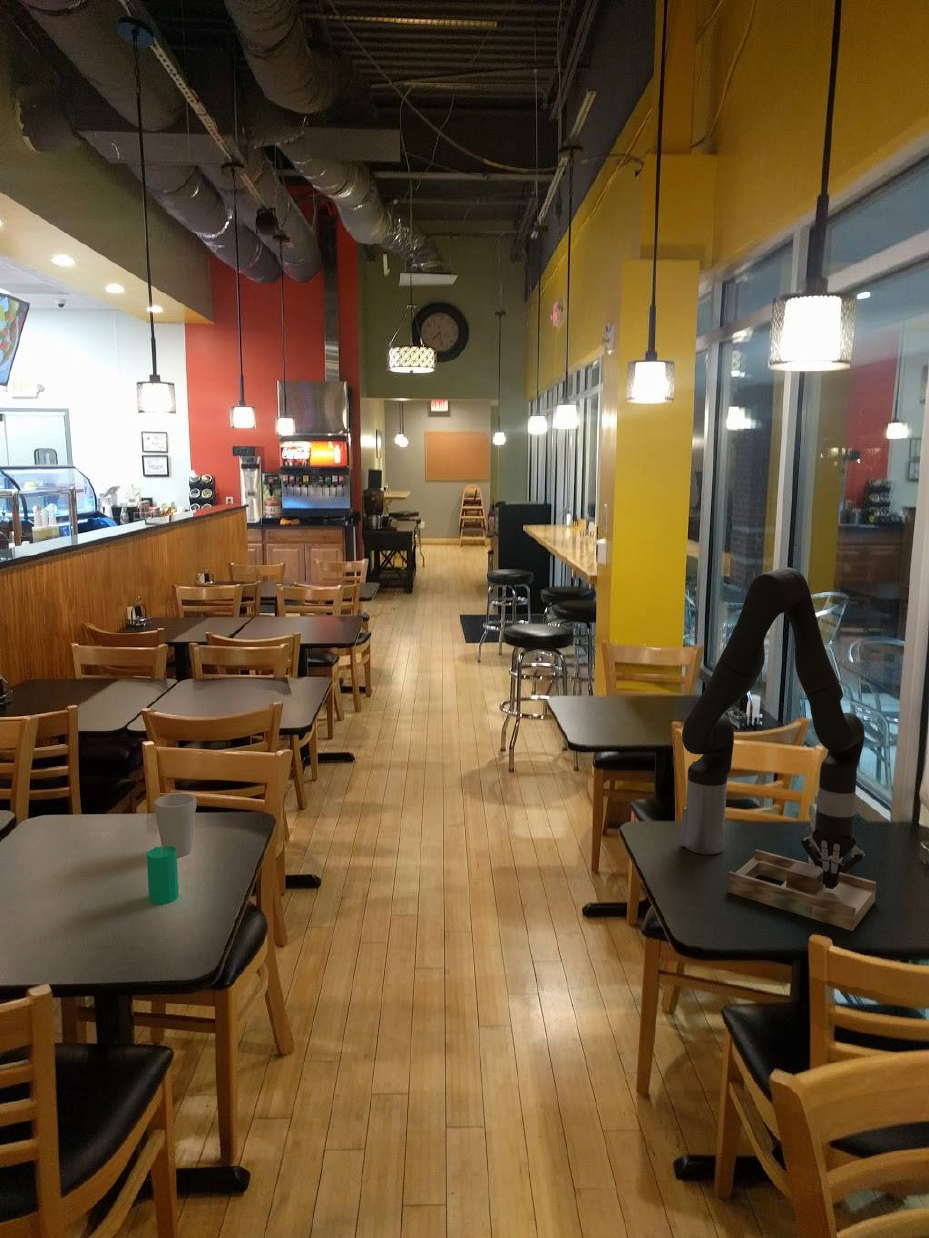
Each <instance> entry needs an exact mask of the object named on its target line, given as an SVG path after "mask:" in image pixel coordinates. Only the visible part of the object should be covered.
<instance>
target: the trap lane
mask: <svg viewBox="0 0 929 1238" xmlns="http://www.w3.org/2000/svg"><path fill="white" fill-rule="evenodd" d="M753 853H754V855H753V857H752V858H751V859H750V860H749V861H747V862H746V863H745V864H744V865H743V866H742V867H740V868H739V869H738V870H736V872H735V871H731V870H729V871H728V877H727V889H726V890H727V891H726V893H729V894H732V895H735V896H739V897H742V898H745V899H749V900H752V901H754V902H758V903H762V904H765V905H768V906H771V907H774V908H777V909H780V910H783V911H787V912H789V913H794V914H796V915H800V916H802V917H806V918H808V919H813V920H816V921H820V922H823V923H825V924H829V925H830V926H831V925H833V926H835V927H839V928H842V929H845V930H847V931H851V932H853V931H854V930H855V929H856V927H857V926H858V924H859V923H860V922H861V920H863V918H864V916H865V915H866V914H867V913H868V911H869V910H870V909H871V907H872V906H873V905H874V903H875V902H876V901H875V900H876V892H877V891H876V890H877V881H874V880H871V879H866V878H863V877H860V876H855V875H852V874H848V873H842V872H840V873H839V882H838V885H837V886H836V887H834V889H833V890H832V889H828V888H825V885H823V886H822V887H821V888H820V889H819V890H818V891H817V892H816V893H815V894H812V893H808V892H805V891H802V890H798V889H795V888H791V887H788V886H786V879H787V870H788V869H789V868H790V867H791V866H792V865H793V864H794V863H795V862H796V861H798V862H801V863H805V864H809V862H804V861H801V860H797V859H793V858H790V857H787V856H784V855H780V854H776V853H775V854H774V853H772V852H768V851H764V850H761V849H755V850H754V852H753ZM809 865H812V864H809ZM812 866H816V865H812ZM816 867H819V866H816ZM819 868H821V867H819ZM758 876H762V877H767V878H768V879H773V880H776V881H780V882H783V883H782V884H781V885H778V884H776V883H772V882H769V881H765V880H761V879H758V878H757V877H758Z"/></svg>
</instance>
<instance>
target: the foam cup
mask: <svg viewBox="0 0 929 1238" xmlns="http://www.w3.org/2000/svg"><path fill="white" fill-rule="evenodd" d="M196 809H197V798H196V796H195V795H194V794H191V793H187V792H186V793H185V792H184V793H183V792H175V793H169V794H165V795H162V796H160V797H158V798H155V800H154V801H153V810H154V811H153V812H154V814H155V816H156V817H155V818H156V823H157V828H158V832H159V838H160V842H161V843H160V845H161V844H162V847H167V846H173V847H175V848H176V850H177V859H178V858H183V857H185V856H188V855H190V854H191V852H192V848H193V839H194V838H193V837H194V830H195V829H194V827H195V821H196V820H195V818H196Z"/></svg>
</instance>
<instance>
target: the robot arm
mask: <svg viewBox="0 0 929 1238" xmlns="http://www.w3.org/2000/svg"><path fill="white" fill-rule="evenodd" d="M745 595H746V596H745V598H744V601H743V605H742V608H741V610H740V614H739V617H738V619H737V622H736V624H735V626H734V628H733V630H732V632H731V634H730V637H729V639H728V641H727V643H726V645H725V647H724V648H723V651H722V652H721V655H720V656H719V658H718V661H717V663H716V665H715V668H714V670H713V671H712V672H713V673H712V674H711V676H710V678H709V681H708V682H707V684H706V686H705V688H704V691H703V692H702V694H701V696H700V698H699V699H698V701H697V702H696V703H695V705H694V706H693V708H692V710H691V711H690V713H689V715H688V716H687V718H686V719H685V721H684V724H683V727H682V732H681V739H682V741H681V742H682V745H683V746H684V748H685V750H686V751H687V752H689V753H690V754H693V755H702V756H701V757H699V758H698V759H697V760H696V761H695V762H694V761H693V763H691V764H690V765H689V767H688V768H687V780H686V781H687V784H686V801H685V802H686V803H685V806H684V807H682V811H681V812H682V813H681V815H682V817H681V833H680V835H681V836H680V837H681V838H680V846H681V847H683V848H686V849H687V850H688V851H691V853H692V852H693V853H695V854H700V855H717V854H719V853H722V852H723V850H724V843H725V842H724V841H725V824H726V807H727V787H728V776H729V773H730V771H731V769H732V761H733V753H734V752H733V751H734V746H735V745H734V744H735V743H734V742H735V732H734V731H735V730H734V728H733V727H734V726H733V723H732V721H731V720H730V718H729V717H728V716H727V715H726V714H725V713H726V712H727V711H728V710H729V709H731V707H733V706H734V705H735V704H737V703H738V702H739V701H740V700H741V699H743V698H744V697H745V696H746V695H747V694H748V693H749V692H750V691H751V690H752V688H753V687H754V685H755V684H756V682H757V680H758V678H759V676H760V674H761V673H762V670H763V668H764V665H765V662H766V661H765V660H766V653H765V652H766V651H765V640H766V636H767V634H768V631H769V630H770V628H771V626H772V625H773V623H774V621H775V620H776V619H777V617H779V615H781V614H785V615H786V618H787V619H788V621H789V623H790V626H791V628H792V633H793V638H794V664H795V665H794V666H795V671H796V674H797V677H798V680H799V682H800V685H801V687H802V690H803V692H804V694H805V697H806V700H807V701H808V703H809V708H810V714H811V716H810V717H811V720H812V724H813V729H814V732H815V735H816V737H817V739H818V741H819V743H820V744H821V745H822V746H823V747H824V748H825V749H826V750H827V753H826V754H827V755H826V756H825V758H824V759H823V760H822V761H821V765H820V769H819V783H818V791H817V792H818V794H817V804H816V820H815V830H814V832H813V833H812V836H810V835H809V836H805V837H804V838H803V839H802V840H801V842H800V843H801V845H802V847H803V848H804V850H805V851H806V853H807V854H808V855H809V856H810V858H811V859H812V861H813V863H814V864H815V865H816V866H819V867H821V868H822V869H823V881H822V882H823V884H824V885H825V888H828V889H832V890H833V889H834V887H836V886H837V885H838V882H839V873H840V872H841V873H845V874H847V873H846V872H848V871H849V870H851V869H852V868H853V867H854V866H856V865H857V864H858V863H859V862H861V860H863V858H864V857H865V856H866V851H865V850H863V849H862V850H861V849H860V848H859V847H858V846H857V845H856V844H857V842H856V840H855V826H856V825H855V823H856V822H855V821H856V811H857V794H856V793H857V777H858V776H857V775H858V772H857V771H858V766H859V763H860V759H861V757H862V754H863V753H862V752H863V748H864V743H865V736H866V735H865V727H864V724H863V722H862V720H861V719H860V718H859V717H858V716H857V715H856V714H853V713H851V712H844V710H843V707H842V699H843V698H844V692H843V689H842V685H841V684H840V681H839V679H838V677H837V674H836V672H835V670H834V668H833V664H832V663H831V660H830V658H829V655H828V653H827V650H826V647H825V644H824V641H823V637H822V633H821V630H820V627H819V626H820V625H819V621H818V618H817V615H816V610H815V607H814V603H813V599H812V594H811V591H810V588H809V584H808V583H807V580H806V578H805V576H804V575H803V573H801V571H799V570H798V569H795V568H793V567H780V568H778V569H773V570H769V571H766V572H762V573H760V574H759V575H758V576H756V577H754V579H753V580H752V582H751V584H750V585H749V588H748V590H747V593H746V594H745ZM815 843H816V845H817V846H818V848H819V850H820V851H821V852H822V856H821V854H820V853H819V851H818V850H817V848H816V847H815ZM849 852H851V854H850V857H851V858H850V859H849V860H847V861H846V862H845V863H844V864H842V861H843V858H844V857H845V856H846V855H848V853H849Z"/></svg>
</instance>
